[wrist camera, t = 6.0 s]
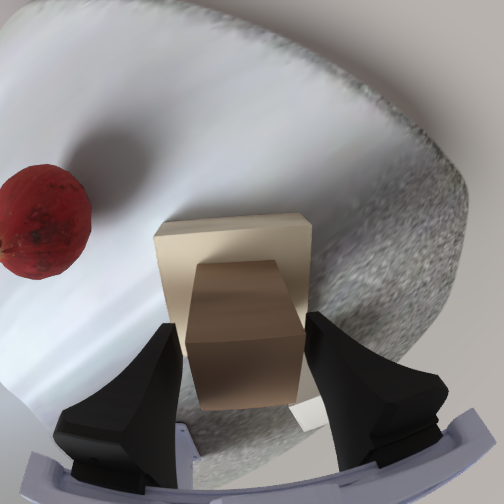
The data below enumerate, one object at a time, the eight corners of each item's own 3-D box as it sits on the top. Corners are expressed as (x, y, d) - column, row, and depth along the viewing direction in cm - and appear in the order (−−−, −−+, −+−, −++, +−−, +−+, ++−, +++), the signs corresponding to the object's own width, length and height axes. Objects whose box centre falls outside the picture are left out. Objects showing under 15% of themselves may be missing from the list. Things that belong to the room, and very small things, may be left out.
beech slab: (293, 318, 20) (304, 345, 17) (183, 328, 19) (179, 356, 16) (297, 210, 17) (312, 224, 14) (164, 219, 16) (153, 236, 13)
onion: (113, 156, 14) (28, 178, 6) (113, 250, 16) (53, 327, 8) (37, 159, 13) (-52, 185, 5) (43, 243, 15) (-28, 303, 8)
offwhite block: (332, 356, 21) (357, 411, 16) (288, 374, 21) (304, 432, 16) (322, 323, 20) (351, 382, 14) (272, 343, 20) (288, 407, 14)
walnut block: (273, 321, 16) (295, 402, 10) (204, 326, 16) (201, 410, 10) (274, 259, 14) (306, 333, 9) (196, 264, 14) (184, 343, 8)
